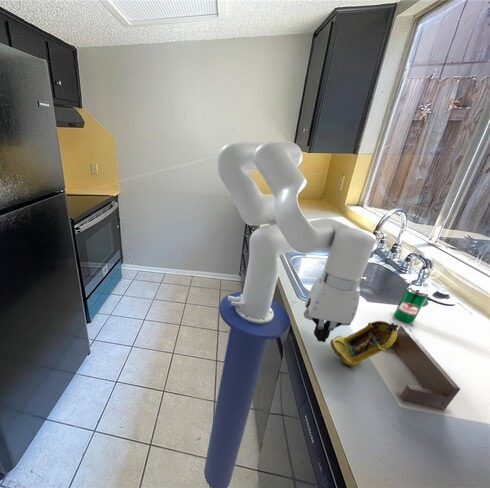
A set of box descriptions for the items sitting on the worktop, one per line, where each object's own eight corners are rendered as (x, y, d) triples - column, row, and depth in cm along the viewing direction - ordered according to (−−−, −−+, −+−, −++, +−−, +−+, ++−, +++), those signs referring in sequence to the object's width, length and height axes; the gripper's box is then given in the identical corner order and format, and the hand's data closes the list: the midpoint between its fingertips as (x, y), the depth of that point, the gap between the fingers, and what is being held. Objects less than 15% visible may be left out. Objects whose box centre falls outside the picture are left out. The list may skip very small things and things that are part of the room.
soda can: (391, 318, 86) (406, 288, 81) (394, 312, 89) (409, 282, 84) (411, 326, 82) (428, 295, 77) (413, 319, 86) (430, 289, 81)
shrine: (377, 361, 69) (400, 316, 63) (377, 382, 63) (403, 335, 57) (328, 340, 75) (345, 298, 69) (325, 358, 69) (343, 313, 63)
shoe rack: (402, 400, 59) (416, 379, 56) (363, 338, 77) (372, 320, 74) (444, 410, 57) (460, 389, 54) (395, 344, 75) (405, 325, 72)
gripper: (368, 276, 63) (345, 334, 71) (302, 267, 66) (287, 323, 74) (384, 292, 57) (356, 355, 64) (310, 282, 60) (292, 342, 67)
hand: (319, 338), depth 69 cm, fingers closed
